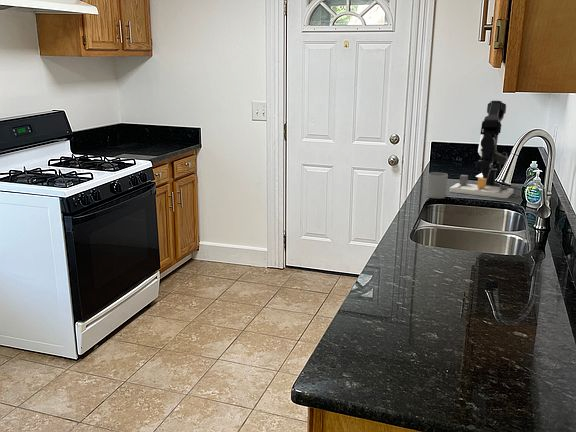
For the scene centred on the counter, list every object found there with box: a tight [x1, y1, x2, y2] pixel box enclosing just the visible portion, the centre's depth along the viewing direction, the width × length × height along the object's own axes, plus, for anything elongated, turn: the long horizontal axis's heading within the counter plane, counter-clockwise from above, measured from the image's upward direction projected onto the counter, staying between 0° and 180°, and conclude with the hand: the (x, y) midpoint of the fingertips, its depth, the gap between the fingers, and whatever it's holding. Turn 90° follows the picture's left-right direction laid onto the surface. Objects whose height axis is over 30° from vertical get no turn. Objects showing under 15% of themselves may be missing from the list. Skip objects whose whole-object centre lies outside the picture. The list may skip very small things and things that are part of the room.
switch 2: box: [499, 184, 509, 189], centre depth 247 cm, size 3×3×4 cm
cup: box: [426, 171, 449, 199], centre depth 242 cm, size 8×8×10 cm
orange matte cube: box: [476, 177, 487, 188], centre depth 250 cm, size 3×3×4 cm
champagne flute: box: [475, 134, 484, 178], centre depth 285 cm, size 7×7×24 cm
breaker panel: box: [448, 182, 514, 199], centre depth 251 cm, size 13×25×2 cm, turn 57°
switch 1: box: [458, 174, 469, 185], centre depth 257 cm, size 3×3×4 cm
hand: (485, 180), depth 256 cm, fingers closed
